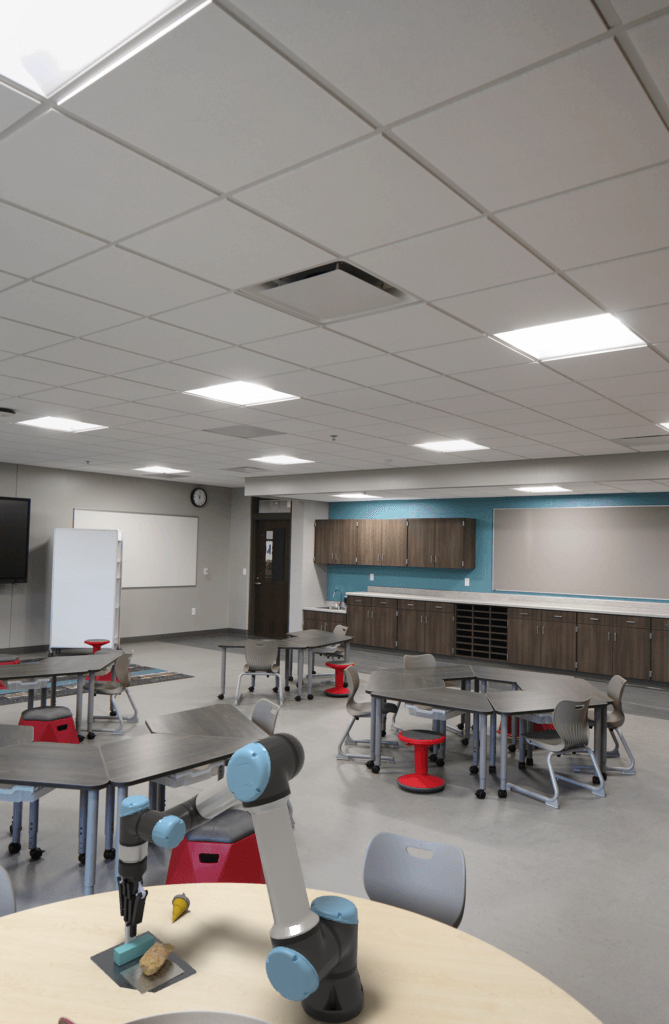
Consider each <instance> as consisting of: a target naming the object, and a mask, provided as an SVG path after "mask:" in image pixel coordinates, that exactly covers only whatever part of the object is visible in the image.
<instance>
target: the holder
mask: <svg viewBox="0 0 669 1024" xmlns="http://www.w3.org/2000/svg"><path fill="white" fill-rule="evenodd" d="M148 933H149V934H150V935H151V936H152V937H154V943H155V942H159V943H163V945H166V944H165V943H164V942H163V941H161V940H160V939H159V938H158V937H157V936H155V934H154V933H152V932H151V931H149V930H147V931H144V932H143V933H140V934H138V935H136V939H137V938H139V937H141V936H144V935H146V934H148ZM122 945H124V941H123V942H121V943H119V944H118V943H117V944H116V945H114V946H112V947H109V948H107V949H104V950H103V951H100V952H99V953H96V954H93V955H92V956H90V960H91V961H92V962H93V963H94V964H95V965H96V966H97V967H98V968H99V970H101V971H102V972H104V973H105V975H106V976H107V977H109V978H110V980H112V981H113V982H114V984H116V985H117V986H118V987H119V988H123V989H129V990H135V991H137V992H139V993H140V994H141V995H144V994H147V993H153V994H155V993H157V992H159V991H162V990H164V989H166V988H168V987H170V986H172V985H174V984H176V983H178V982H180V981H183V980H184V979H187V978H188V977H191V976H193V975H195V974H196V973H197V970H196V969H195V968H194V967H192V965H190V964H189V963H188V962H187V961H185V960H184V959H183V958H181V957H180V956H179V955H178V954H177V953H176V952H174V951H173V952H172V953H171V954H170V955H168V957H167V958H166V960H165V962H164V964H163V965H162V966H161V968H160V969H159V970H158V971H157V973H154V974H152V975H147V976H146V974H145V973H144V972H143V970H142V969H141V968H140V966H139V963H140V962H139V961H140V959H141V958H142V957H143V955H141V956H139V957H137V958H135V959H133V960H131V961H129V962H127V963H125V964H123V965H121V966H118V965H117V964H116V963H115V962H114V949H115V948H117V947H119V946H122Z"/></svg>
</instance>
